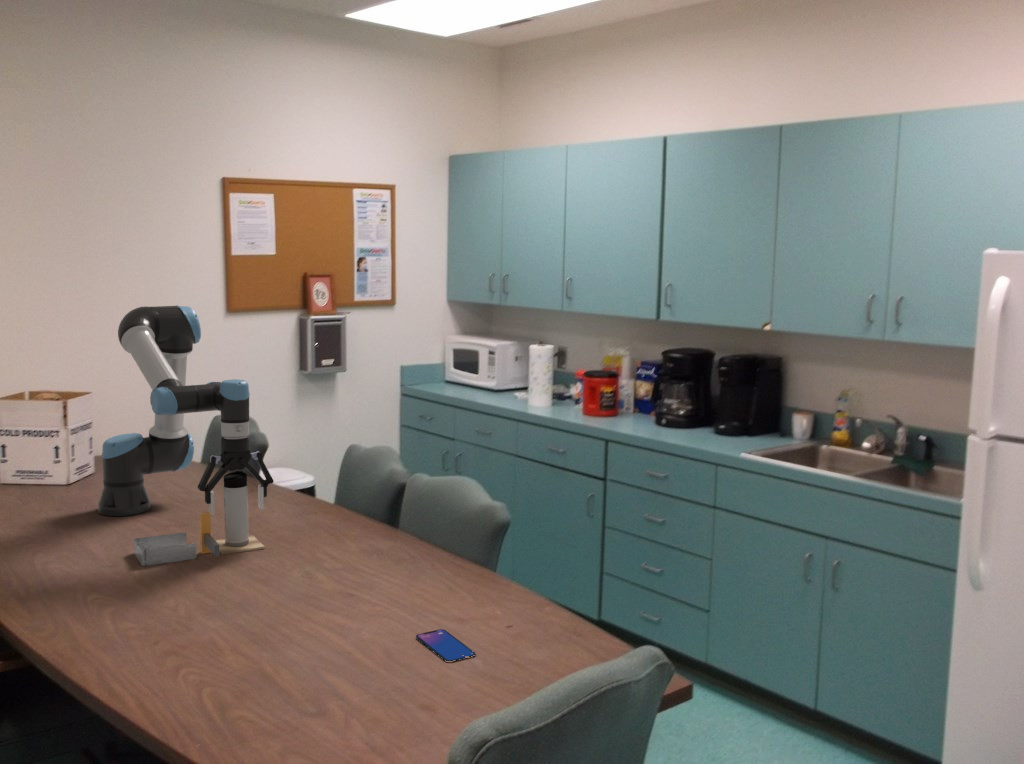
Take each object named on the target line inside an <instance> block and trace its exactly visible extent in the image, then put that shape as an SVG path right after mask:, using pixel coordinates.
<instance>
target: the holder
mask: <svg viewBox="0 0 1024 764" xmlns="http://www.w3.org/2000/svg"><path fill="white" fill-rule="evenodd" d="M187 539H188V538H187V532H184V531H183V532H176V533H167V534H160V535H152V536H146V537H138V538H137V537H136V538H133V554H134V556H135V557H136V558H137V560H138V561H139V564H140V565H141V567H147V566H154V565H162V564H168V563H175V562H181V561H182V562H183V561H188V560H195V559H196V560H197V544H196V543H195V542H193V543H188V542H187Z"/></svg>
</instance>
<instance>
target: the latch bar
mask: <svg viewBox="0 0 1024 764" xmlns="http://www.w3.org/2000/svg"><path fill="white" fill-rule="evenodd" d="M211 522H212V521H211V515H210V512H209V511H206V512H200V513H199V525H200V528H199V531H200V536H199V537H200V553H201V554H210V553H211V554H212V556H214V557H220V555H221V554H220V553H219V544H218V543H217V542H216V541H215V540H216V539H215V538H213V536H212V535H211V534H212V531H211V530H212V528H211V525H212V523H211Z"/></svg>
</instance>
